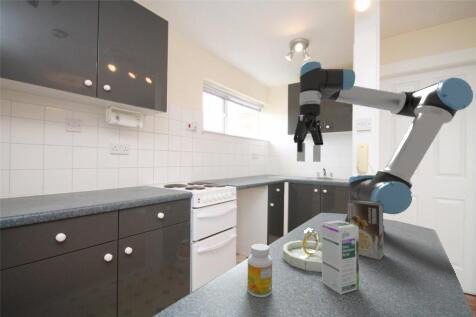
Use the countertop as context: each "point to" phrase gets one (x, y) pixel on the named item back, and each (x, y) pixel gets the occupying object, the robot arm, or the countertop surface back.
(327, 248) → the syrup box
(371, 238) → the coffee box
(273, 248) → the countertop surface
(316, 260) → the ring dish
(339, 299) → the countertop surface
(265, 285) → the supplement bottle
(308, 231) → the ring
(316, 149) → the robot arm
